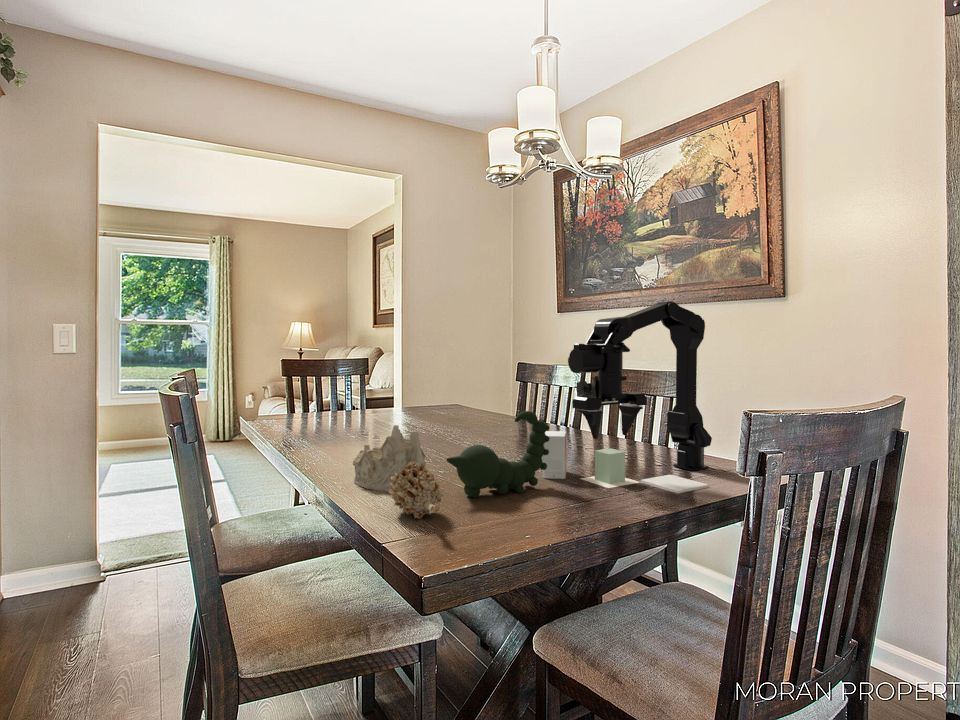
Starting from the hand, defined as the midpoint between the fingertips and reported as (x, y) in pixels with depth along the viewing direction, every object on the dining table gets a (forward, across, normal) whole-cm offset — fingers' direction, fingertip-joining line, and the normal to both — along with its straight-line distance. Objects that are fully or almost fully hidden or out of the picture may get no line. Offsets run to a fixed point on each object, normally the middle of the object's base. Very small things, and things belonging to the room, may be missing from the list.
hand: (610, 436), depth 135 cm
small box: (+11, +8, -11) cm, 17 cm away
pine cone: (+11, +50, +3) cm, 52 cm away
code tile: (+10, 0, 0) cm, 11 cm away
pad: (+10, -10, +10) cm, 18 cm away
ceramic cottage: (+11, +45, -26) cm, 53 cm away
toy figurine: (+11, +28, -5) cm, 30 cm away
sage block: (+10, 0, 0) cm, 10 cm away
